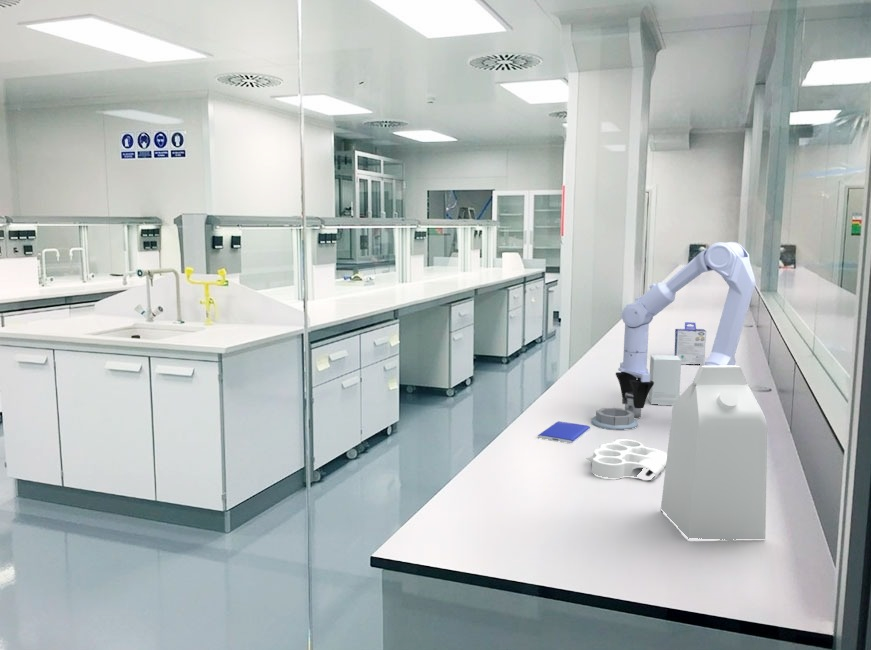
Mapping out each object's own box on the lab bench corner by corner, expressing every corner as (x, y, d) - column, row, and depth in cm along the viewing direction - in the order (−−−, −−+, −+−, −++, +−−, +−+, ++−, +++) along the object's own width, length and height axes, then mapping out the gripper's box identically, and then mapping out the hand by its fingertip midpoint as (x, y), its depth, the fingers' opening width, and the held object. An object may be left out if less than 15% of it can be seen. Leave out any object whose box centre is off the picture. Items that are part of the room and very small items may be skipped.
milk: (730, 510, 118) (740, 359, 114) (765, 540, 107) (777, 373, 103) (660, 511, 117) (668, 359, 114) (688, 541, 106) (697, 374, 102)
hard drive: (557, 420, 168) (538, 433, 158) (590, 425, 164) (572, 439, 154) (556, 427, 169) (537, 440, 158) (589, 432, 165) (572, 446, 154)
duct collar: (645, 429, 165) (646, 418, 165) (600, 430, 164) (601, 419, 163) (627, 417, 176) (628, 406, 175) (585, 418, 175) (585, 407, 174)
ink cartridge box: (701, 362, 248) (704, 322, 246) (705, 365, 242) (707, 324, 240) (672, 361, 249) (675, 321, 247) (675, 364, 244) (677, 323, 242)
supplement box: (679, 406, 187) (681, 360, 185) (650, 405, 188) (652, 358, 186) (675, 400, 194) (678, 355, 192) (647, 398, 195) (650, 354, 193)
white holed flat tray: (650, 490, 128) (574, 475, 136) (673, 462, 143) (604, 450, 151) (651, 472, 128) (574, 458, 135) (674, 446, 143) (604, 435, 150)
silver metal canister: (643, 418, 175) (644, 395, 174) (625, 419, 174) (626, 395, 173) (637, 414, 179) (638, 391, 178) (619, 414, 178) (620, 391, 177)
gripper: (609, 346, 181) (607, 397, 183) (631, 356, 167) (628, 411, 169) (635, 345, 182) (633, 396, 184) (659, 356, 167) (656, 411, 169)
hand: (632, 403), depth 176 cm, fingers open, 7 cm apart
